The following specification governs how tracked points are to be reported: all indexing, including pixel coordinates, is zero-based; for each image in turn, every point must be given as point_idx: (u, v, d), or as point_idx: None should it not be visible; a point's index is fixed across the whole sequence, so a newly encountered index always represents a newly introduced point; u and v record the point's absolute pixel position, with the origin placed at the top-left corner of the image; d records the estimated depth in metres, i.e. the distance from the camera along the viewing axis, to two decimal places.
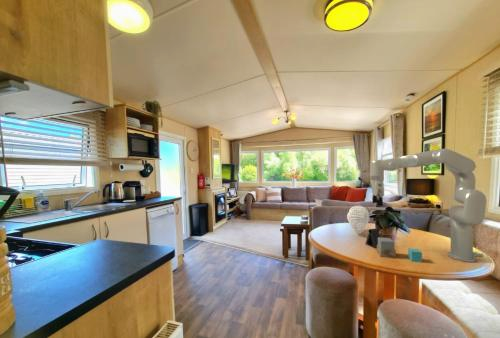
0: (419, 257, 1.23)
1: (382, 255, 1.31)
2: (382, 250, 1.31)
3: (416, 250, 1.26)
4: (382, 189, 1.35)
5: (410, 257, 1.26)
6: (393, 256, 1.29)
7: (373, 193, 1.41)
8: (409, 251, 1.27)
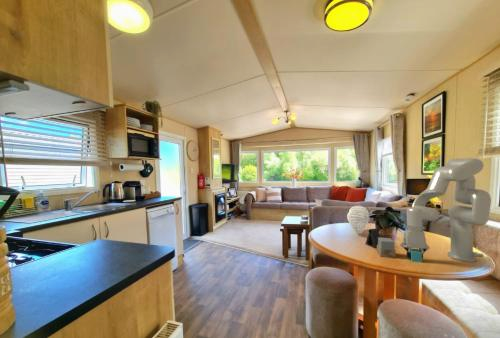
0: (419, 257, 1.23)
1: (382, 255, 1.31)
2: (382, 250, 1.31)
3: (416, 250, 1.26)
4: None
5: None
6: (393, 256, 1.29)
7: (415, 246, 1.24)
8: None
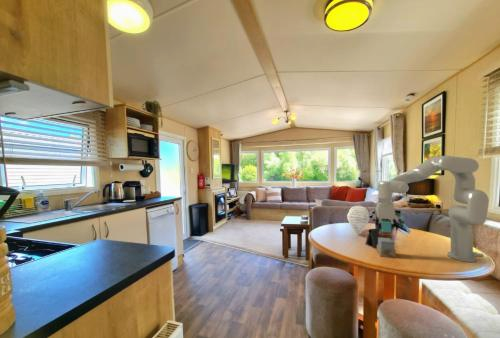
0: (388, 227, 1.31)
1: (382, 255, 1.31)
2: (382, 250, 1.31)
3: (387, 221, 1.33)
4: None
5: None
6: (393, 256, 1.29)
7: (385, 217, 1.32)
8: None
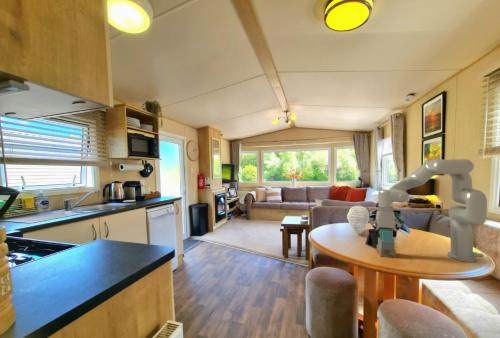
0: (389, 237, 1.31)
1: (382, 255, 1.31)
2: (382, 250, 1.31)
3: (387, 230, 1.33)
4: None
5: (381, 237, 1.34)
6: (393, 256, 1.29)
7: (386, 226, 1.32)
8: (381, 231, 1.35)
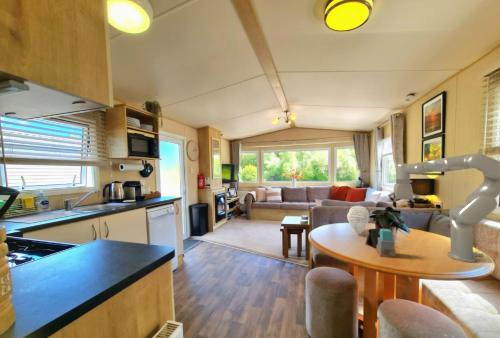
0: (389, 236, 1.31)
1: (382, 255, 1.31)
2: (382, 250, 1.31)
3: (387, 230, 1.34)
4: None
5: (381, 236, 1.34)
6: (393, 256, 1.29)
7: (403, 197, 1.39)
8: (380, 231, 1.35)
